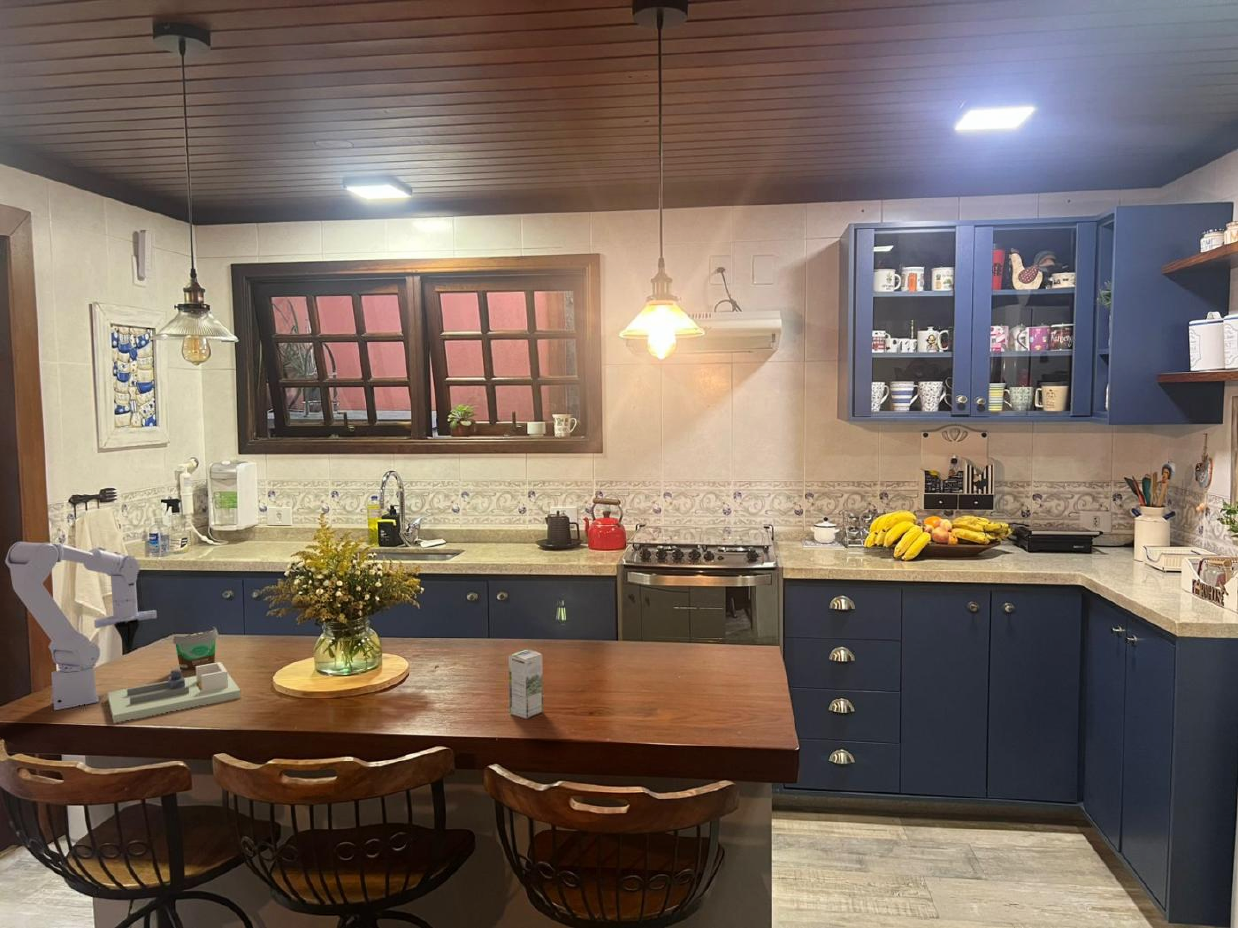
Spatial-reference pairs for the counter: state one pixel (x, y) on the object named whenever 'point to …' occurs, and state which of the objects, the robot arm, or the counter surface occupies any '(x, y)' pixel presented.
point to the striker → (176, 679)
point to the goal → (212, 676)
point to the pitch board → (165, 698)
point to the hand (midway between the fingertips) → (128, 648)
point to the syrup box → (526, 683)
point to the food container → (196, 649)
